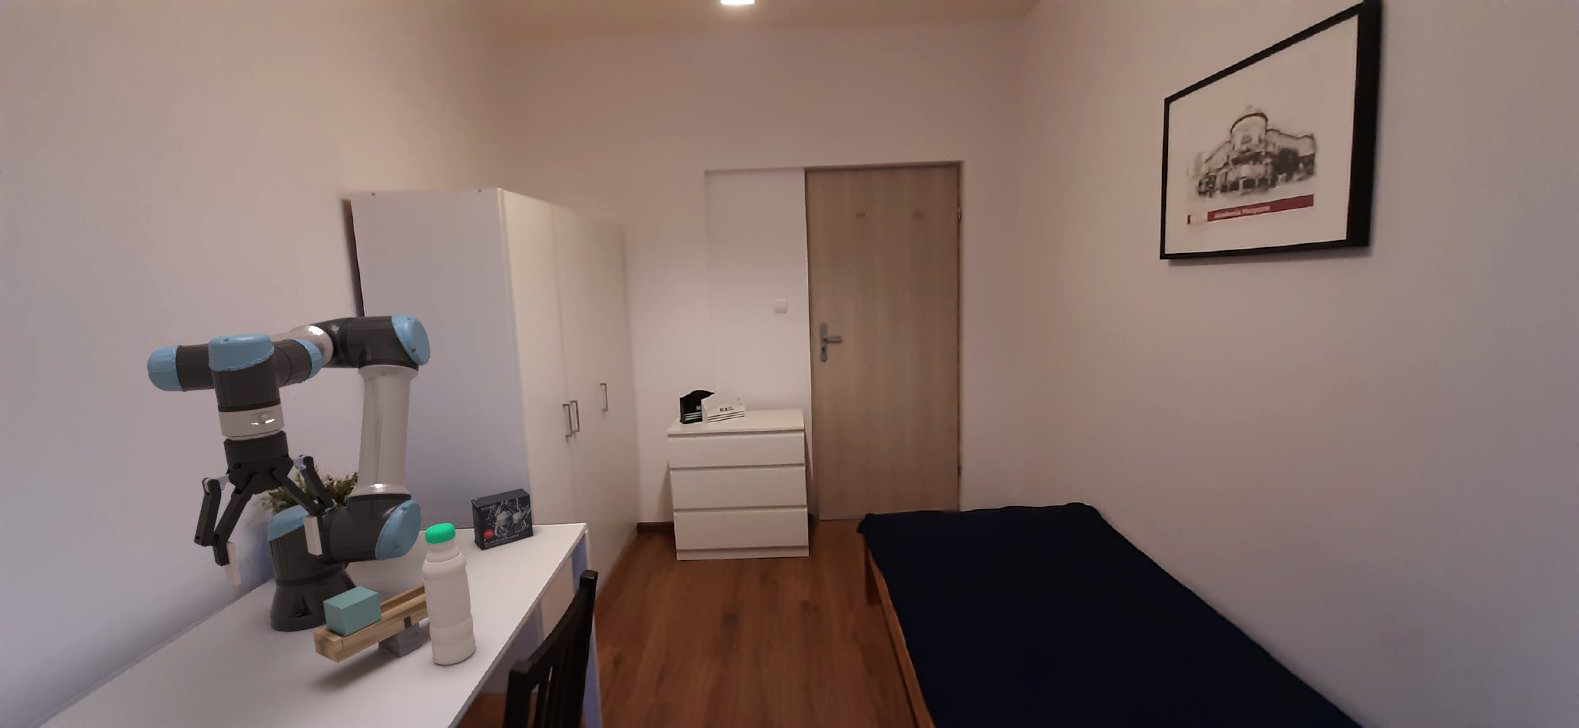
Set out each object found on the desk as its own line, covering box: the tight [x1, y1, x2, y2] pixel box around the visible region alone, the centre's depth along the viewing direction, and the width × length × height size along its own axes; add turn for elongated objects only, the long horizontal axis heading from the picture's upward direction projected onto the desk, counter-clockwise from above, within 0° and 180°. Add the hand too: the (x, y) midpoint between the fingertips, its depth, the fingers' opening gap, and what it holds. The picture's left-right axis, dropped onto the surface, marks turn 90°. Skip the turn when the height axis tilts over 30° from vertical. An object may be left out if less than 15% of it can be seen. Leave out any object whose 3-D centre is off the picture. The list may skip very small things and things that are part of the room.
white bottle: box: [421, 522, 476, 666], centre depth 115 cm, size 7×7×25 cm
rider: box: [323, 585, 382, 637], centre depth 113 cm, size 6×6×6 cm
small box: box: [470, 488, 534, 551], centre depth 167 cm, size 13×7×12 cm, turn 130°
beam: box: [312, 582, 429, 664], centre depth 119 cm, size 7×24×12 cm, turn 152°
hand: (276, 567), depth 102 cm, fingers open, 10 cm apart
